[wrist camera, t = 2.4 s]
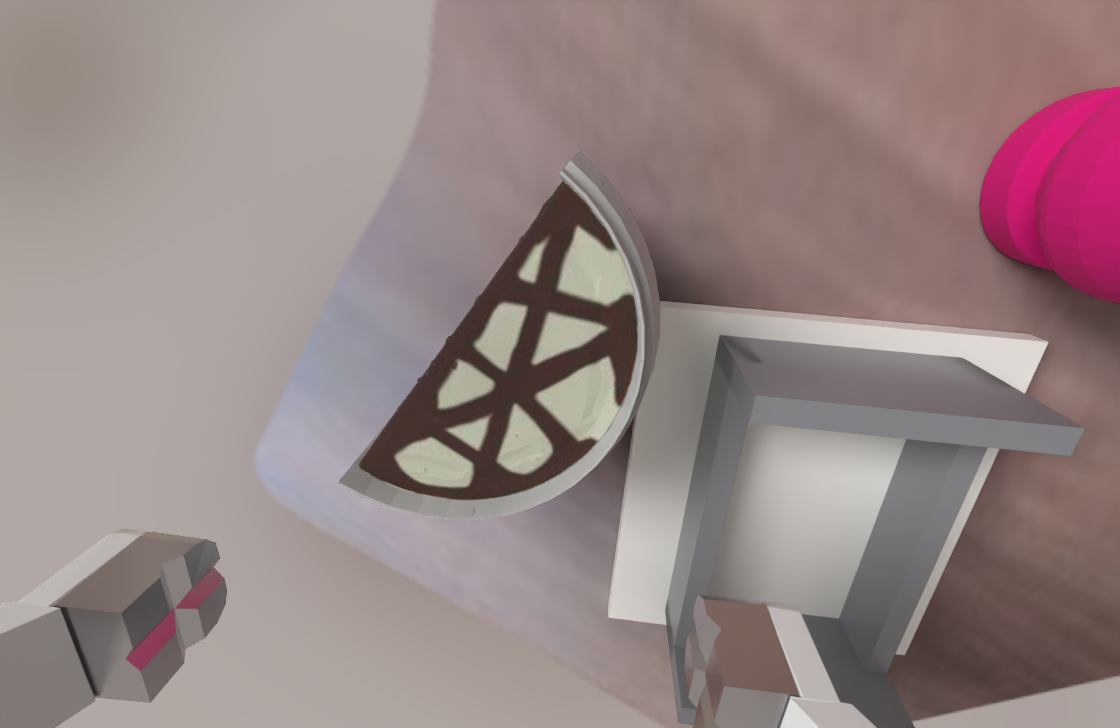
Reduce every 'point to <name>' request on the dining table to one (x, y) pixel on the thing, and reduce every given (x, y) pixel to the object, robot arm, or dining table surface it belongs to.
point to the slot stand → (816, 476)
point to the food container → (529, 369)
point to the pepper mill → (1061, 192)
